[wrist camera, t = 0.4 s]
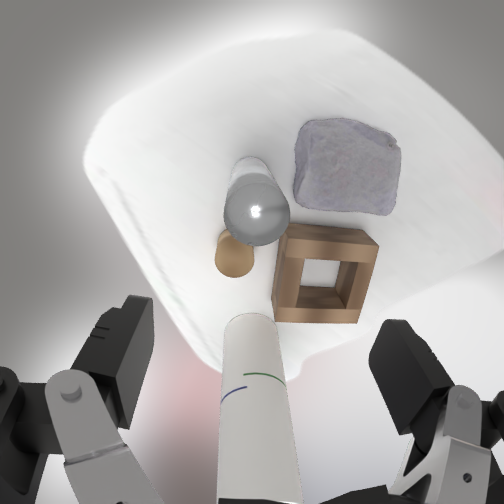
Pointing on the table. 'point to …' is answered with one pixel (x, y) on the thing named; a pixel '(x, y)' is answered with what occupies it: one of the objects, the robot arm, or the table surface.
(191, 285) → the table surface
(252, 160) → the steel pin
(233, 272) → the oak stub
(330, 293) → the collar
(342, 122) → the stone block
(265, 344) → the cylindrical container
